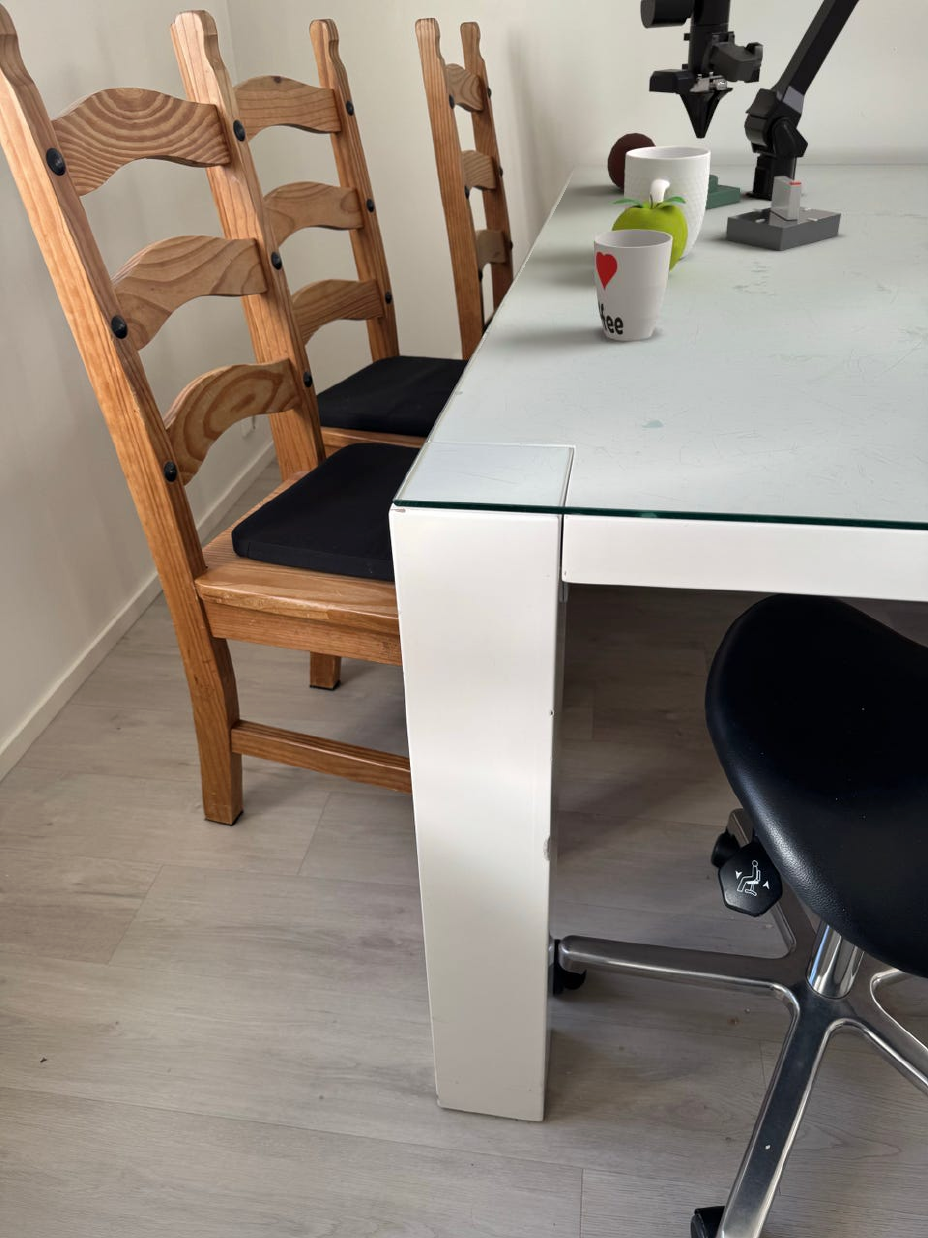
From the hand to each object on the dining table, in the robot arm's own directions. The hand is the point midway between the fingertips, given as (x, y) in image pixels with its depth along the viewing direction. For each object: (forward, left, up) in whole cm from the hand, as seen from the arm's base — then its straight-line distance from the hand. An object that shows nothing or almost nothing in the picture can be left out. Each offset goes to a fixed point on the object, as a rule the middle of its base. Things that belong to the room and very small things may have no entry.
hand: (700, 138), depth 155 cm
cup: (+54, +44, -10) cm, 70 cm away
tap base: (+9, +26, -10) cm, 29 cm away
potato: (-1, -17, -10) cm, 20 cm away
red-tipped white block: (+9, +26, -7) cm, 28 cm away
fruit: (+37, +28, -10) cm, 47 cm away
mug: (+29, +22, -10) cm, 38 cm away
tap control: (0, 0, -10) cm, 10 cm away
